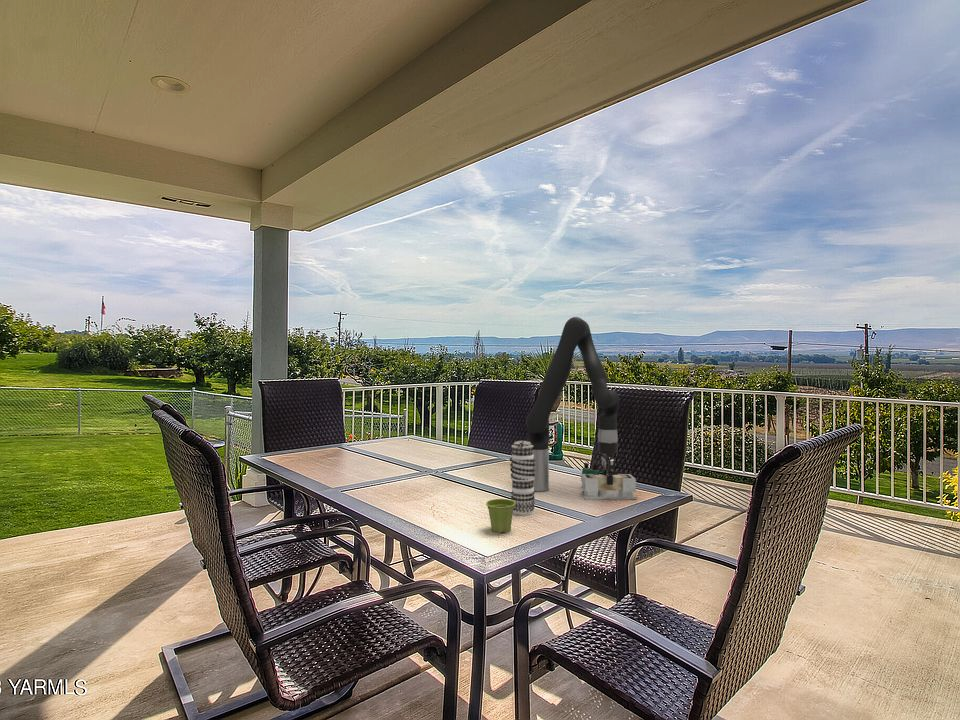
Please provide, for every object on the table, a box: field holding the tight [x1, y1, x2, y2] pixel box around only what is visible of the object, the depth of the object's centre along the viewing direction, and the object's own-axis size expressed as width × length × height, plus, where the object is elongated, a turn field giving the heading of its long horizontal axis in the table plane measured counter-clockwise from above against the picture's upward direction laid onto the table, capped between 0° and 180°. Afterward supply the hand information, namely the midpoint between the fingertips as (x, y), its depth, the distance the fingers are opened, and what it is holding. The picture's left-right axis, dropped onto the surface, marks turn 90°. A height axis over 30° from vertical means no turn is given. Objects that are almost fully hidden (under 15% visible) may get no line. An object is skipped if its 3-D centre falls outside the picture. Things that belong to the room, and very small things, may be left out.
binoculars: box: [580, 462, 600, 489], centre depth 211 cm, size 9×11×10 cm
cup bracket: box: [580, 473, 638, 500], centre depth 197 cm, size 20×8×8 cm, turn 88°
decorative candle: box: [509, 440, 536, 516], centre depth 178 cm, size 9×9×25 cm
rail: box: [588, 474, 629, 491], centre depth 197 cm, size 15×4×5 cm, turn 88°
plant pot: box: [485, 498, 516, 533], centre depth 158 cm, size 9×9×9 cm
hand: (608, 482), depth 197 cm, fingers open, 5 cm apart
